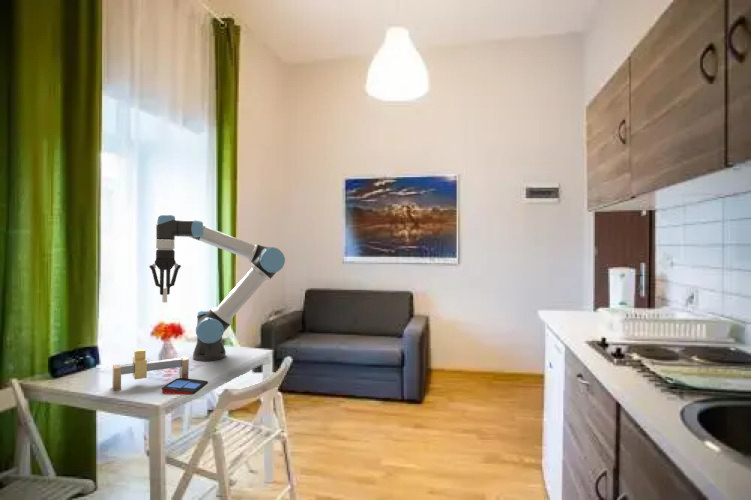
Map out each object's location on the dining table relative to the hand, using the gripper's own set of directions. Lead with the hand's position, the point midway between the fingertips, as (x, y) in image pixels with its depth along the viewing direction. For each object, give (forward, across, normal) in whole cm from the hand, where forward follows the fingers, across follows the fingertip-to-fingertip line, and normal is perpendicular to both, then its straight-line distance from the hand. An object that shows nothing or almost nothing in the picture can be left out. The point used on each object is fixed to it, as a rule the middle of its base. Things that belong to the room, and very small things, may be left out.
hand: (164, 302), depth 197 cm
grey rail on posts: (+29, +8, +22) cm, 38 cm away
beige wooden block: (+26, +12, +22) cm, 36 cm away
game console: (+30, -2, +34) cm, 45 cm away
